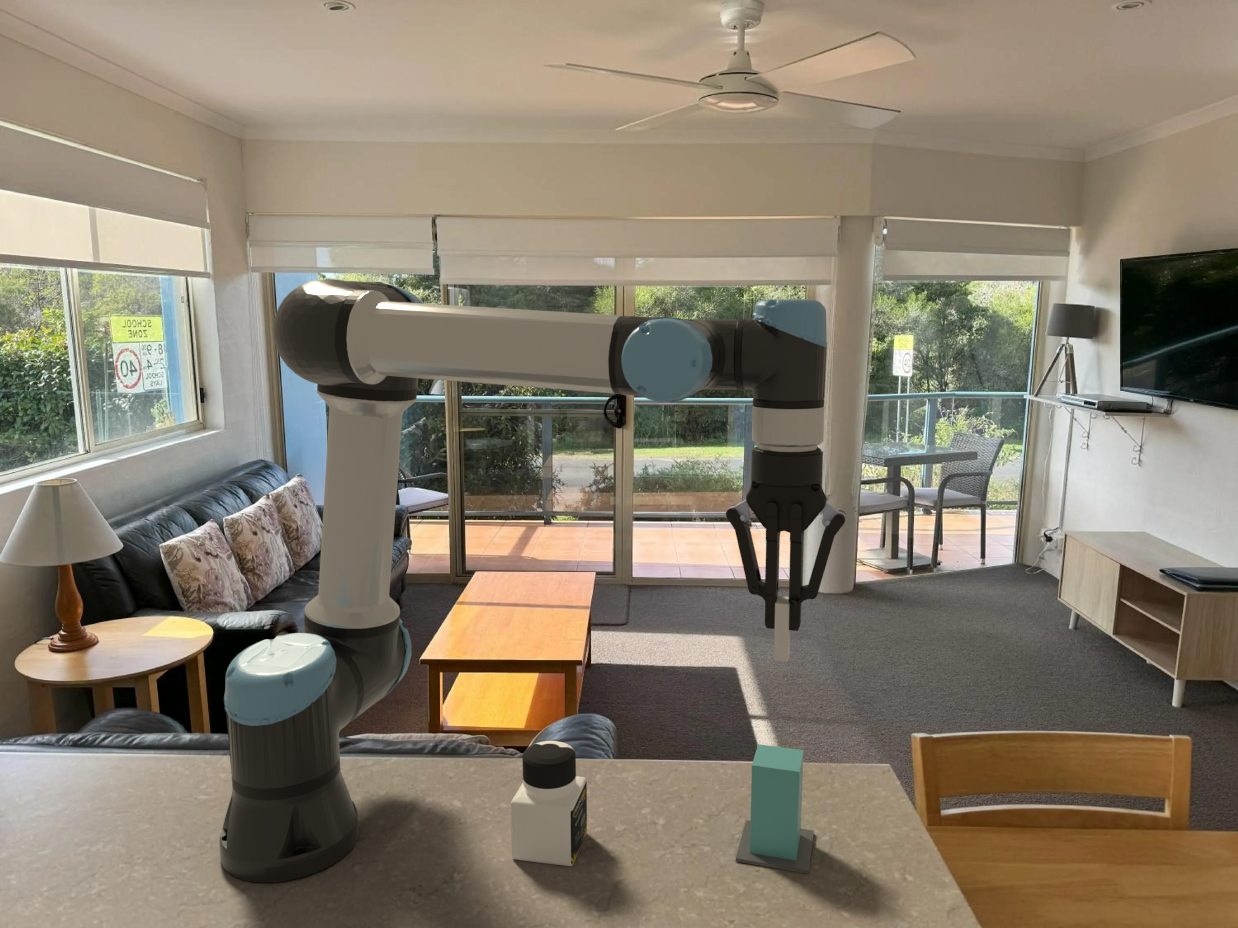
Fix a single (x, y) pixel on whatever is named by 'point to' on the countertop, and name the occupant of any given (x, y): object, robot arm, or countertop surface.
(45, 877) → the countertop surface
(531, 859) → the medicine bottle
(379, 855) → the countertop surface
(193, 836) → the countertop surface
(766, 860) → the grey square base plate
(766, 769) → the tall teal pillar
